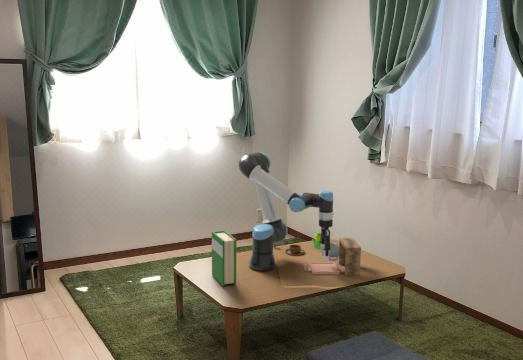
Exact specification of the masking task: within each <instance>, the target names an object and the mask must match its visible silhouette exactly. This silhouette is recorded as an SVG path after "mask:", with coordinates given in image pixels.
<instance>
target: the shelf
mask: <svg viewBox="0 0 523 360" xmlns="http://www.w3.org/2000/svg"><path fill="white" fill-rule="evenodd" d="M338 240H339V241H338V246H339V256H338V259H337V260H338V263H337V265H338V266H340V265H341V266H342V265H343V266H344V267H345V268H344V275H345V276H360V275H361V272H360V271H361V256H362V255H361V254H362V248H361V245H360V244H358V242H357V241H356V240H355V238H353V237H351V238H350V237H348V238H347V237H346V238H345V237H343V238H342V237H341V238H339V239H338Z"/></svg>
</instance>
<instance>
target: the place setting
mask: <svg viewBox="0 0 523 360" xmlns="http://www.w3.org/2000/svg"><path fill="white" fill-rule="evenodd" d="M277 244H278V243H276V244H274V245H273V249H276V248H277V247H276V245H277ZM284 251H285V252H284V253H285V254H286V255H289V256H292V257H293V256H294V257H298V256H303V255H304V254H305V252H306V251H305V250H304V249H303V248H302V247H301V245H299V244H290V245H289V248H287V249H285V250H284ZM288 251H289V252H288Z"/></svg>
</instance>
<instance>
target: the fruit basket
mask: <svg viewBox="0 0 523 360" xmlns="http://www.w3.org/2000/svg"><path fill="white" fill-rule="evenodd" d="M320 238H321V232H316V233H315V235H314V238H313V239H311V240H312V244H313V247H314V248H316V249H318V250H320V251H321V242H320ZM330 244H333V243H332V242H331V241H330Z"/></svg>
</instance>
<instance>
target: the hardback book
mask: <svg viewBox="0 0 523 360" xmlns="http://www.w3.org/2000/svg"><path fill="white" fill-rule="evenodd" d="M211 276H213V278H214V279H215V280H216V282H218V283H219V284H220V285H221V286H222V287H225V285H228V284H233V285H237V238H235V237H234V236H233V235H232V234H231V233H229V232H228V231H226V230H215V231H211Z"/></svg>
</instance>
